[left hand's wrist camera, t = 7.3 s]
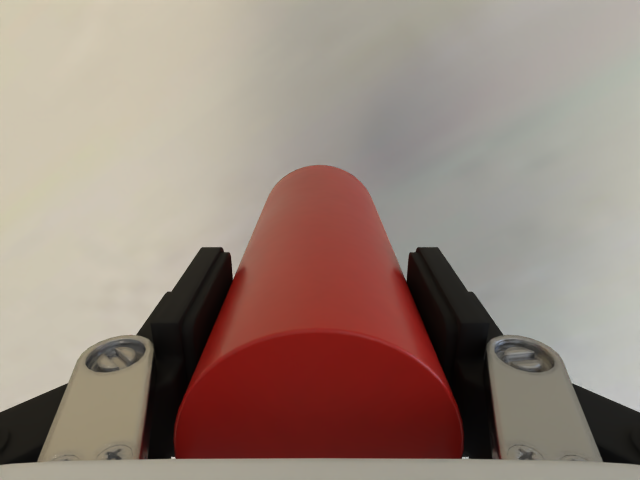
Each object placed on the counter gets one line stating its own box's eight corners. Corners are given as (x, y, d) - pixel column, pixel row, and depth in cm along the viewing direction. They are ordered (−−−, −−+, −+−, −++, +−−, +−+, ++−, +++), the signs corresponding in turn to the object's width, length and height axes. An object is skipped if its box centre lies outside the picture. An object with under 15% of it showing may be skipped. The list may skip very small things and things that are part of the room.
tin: (321, 291, 20) (322, 588, 8) (240, 221, 19) (113, 458, 7) (399, 219, 18) (525, 452, 7) (317, 139, 17) (313, 267, 6)
